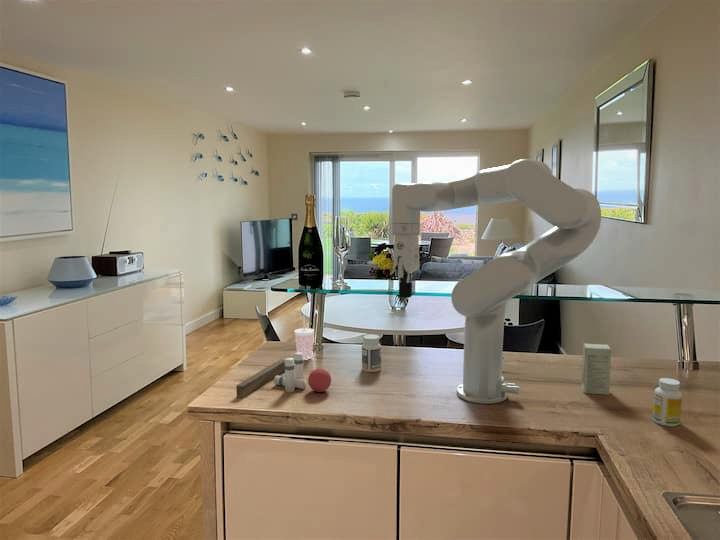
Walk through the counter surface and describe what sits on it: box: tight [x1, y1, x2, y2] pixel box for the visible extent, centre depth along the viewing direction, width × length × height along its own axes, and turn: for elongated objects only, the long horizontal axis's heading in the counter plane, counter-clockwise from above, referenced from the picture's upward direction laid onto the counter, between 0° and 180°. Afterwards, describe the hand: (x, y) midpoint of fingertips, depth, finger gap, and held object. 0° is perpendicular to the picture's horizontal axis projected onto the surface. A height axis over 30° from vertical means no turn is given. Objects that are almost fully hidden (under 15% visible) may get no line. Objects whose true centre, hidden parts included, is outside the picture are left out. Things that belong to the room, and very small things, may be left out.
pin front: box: [273, 375, 308, 390], centre depth 138 cm, size 2×2×8 cm
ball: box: [307, 368, 332, 393], centre depth 134 cm, size 6×6×6 cm
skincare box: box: [581, 343, 612, 395], centre depth 133 cm, size 6×4×12 cm
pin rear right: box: [293, 351, 305, 380], centre depth 139 cm, size 2×2×8 cm
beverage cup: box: [293, 314, 315, 361], centre depth 161 cm, size 6×6×14 cm
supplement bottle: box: [651, 377, 683, 427], centre depth 116 cm, size 5×5×10 cm
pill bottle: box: [361, 334, 382, 373], centre depth 151 cm, size 6×6×10 cm
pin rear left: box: [284, 357, 295, 393], centre depth 135 cm, size 2×2×8 cm
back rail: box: [235, 359, 285, 398], centre depth 141 cm, size 2×22×3 cm, turn 159°
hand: (405, 296), depth 141 cm, fingers closed
